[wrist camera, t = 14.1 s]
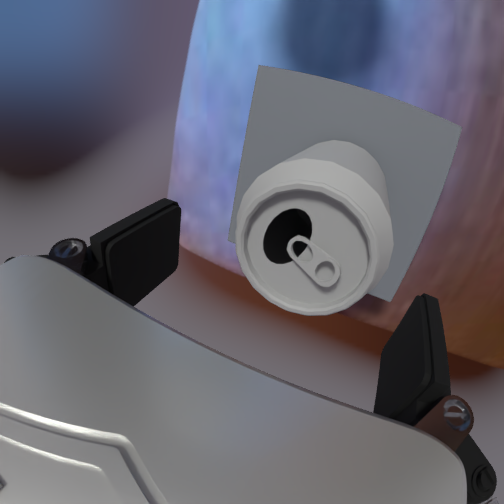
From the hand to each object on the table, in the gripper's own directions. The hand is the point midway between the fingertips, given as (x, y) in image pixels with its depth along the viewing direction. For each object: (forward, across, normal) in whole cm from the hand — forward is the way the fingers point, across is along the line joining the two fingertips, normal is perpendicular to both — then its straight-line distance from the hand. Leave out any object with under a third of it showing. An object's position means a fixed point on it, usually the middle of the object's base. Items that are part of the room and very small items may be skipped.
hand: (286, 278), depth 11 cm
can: (+14, 0, 0) cm, 14 cm away
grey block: (+19, 0, 0) cm, 19 cm away
